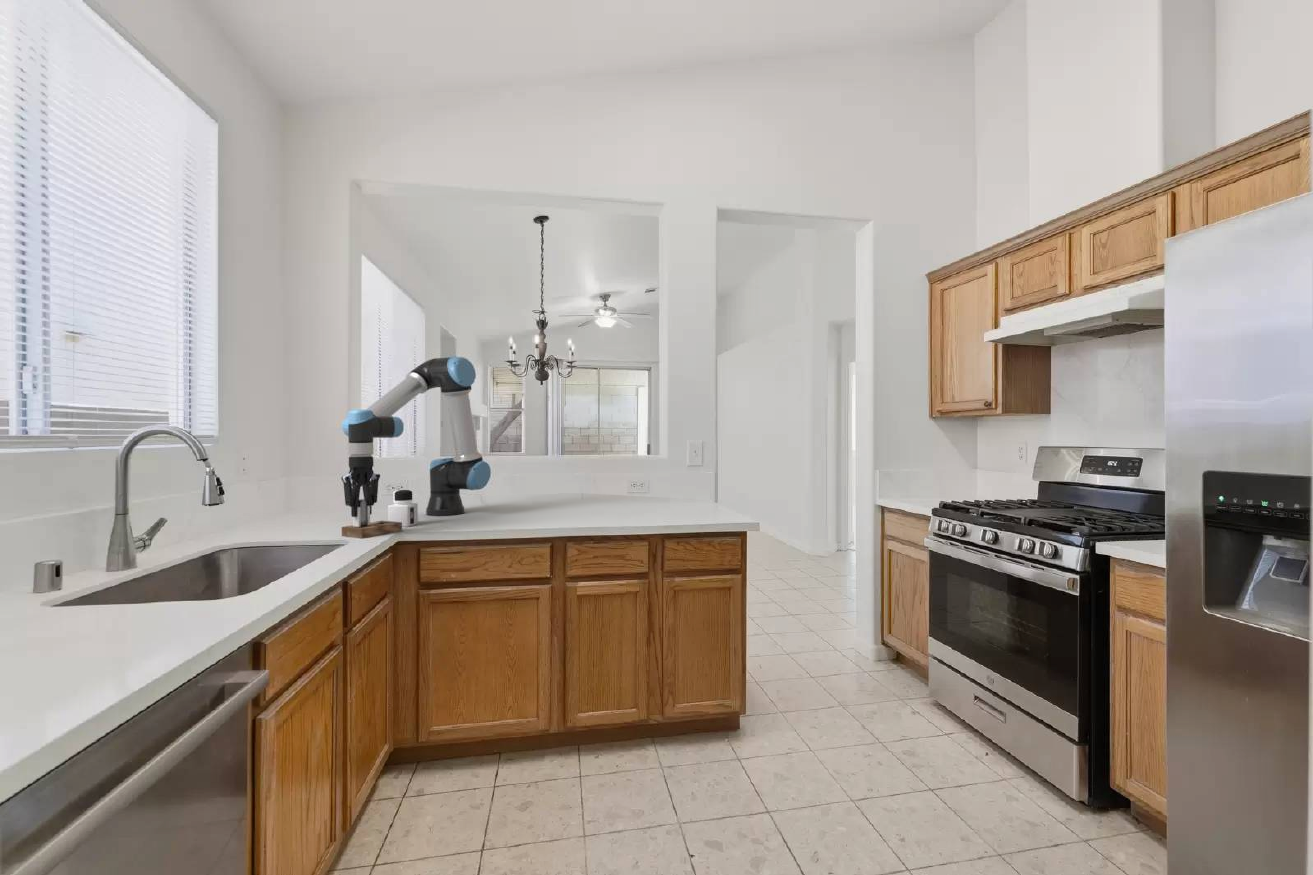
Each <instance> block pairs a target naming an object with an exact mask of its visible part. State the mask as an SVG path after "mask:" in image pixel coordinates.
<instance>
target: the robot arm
mask: <svg viewBox="0 0 1313 875" xmlns="http://www.w3.org/2000/svg"><path fill="white" fill-rule="evenodd" d="M476 376H477V375H476V369H475V367H474V364H473V363H472V362H471V361H470V360H469V359H467V358H466V357H464V356H463V357H462V356H451V357H435V358H432V359H428V360H426V361H424V362H423V363H421V364H419V365H418V366H416V367H415V368H413V369H412V370H411V371H410V372H408V373H407V374H406V376H405V378H404V379H403V380H402V381H401V382H399V384H396V386H394V387H393V388H392V389H390V390H389V391H388V392H387V393H385V394H384V395H383V396H381V397H379V398H378V400H376V401H375V402H374V403H372V404H371V405H369V406H368V407H367V408H365V409H351V410H350V411H349V412H348V417H347V418H345V419H344V420H343V421H342V422H343V423H342V427H341V428H342V429H341V430H342V431H343V433H344V434H345V436H347V437H348V455H349V457H348V468H349V471H348V474H346V475H342V476H341V478H340V479H341V481H342V483H343V484H342V485H343V492H344V493H343V494H344V504H345V506H348V507H350V508H351V510H350V512H351V514H350V515H351V517H352V525H353V526H355V527H361V513H360V507H358V503H359V499H360V494H361V487H362V494H363V499H366V503H367V525H370V522H371V515H372V511H373V510H372V509H373V508H372V506H373V507H374V505H375V504H376V503H377V502H378V496H379V495H378V493H379V481H380V478H381V474H379V473H375V472H374V470H373V467H374V457H373V455H374V439H375V438H377V439H381V438H383V439H384V438H387V439H388V438H389V439H394V438H399V437H400V436H401V435H402V434H403V433H404V428H405V427H404V424H405V423H404V422H403V420H402V419H401V418H400V417H398V416H393V415H394V414H395V413H397V412H399V410H400V409H402V408H403V407H404V406H406V405H407V404H408V403H410V402H411V401H413V399H414V398H415V397H417V396H418V395H419V394H425V393H426V392H428V391H429V390H431V389H434V388H435V389H436V388H440V392H441V394H442V395H443V396H445V398H446V403H447V410H448V416H449V422H450V427H451V428H450V429H451V434H452V441H453V446H454V452H455V453H454V454H455V455H454V457H446V458H438V459H433V460H431V461H430V464H429V490H430V491H429V492H430V496H429V499H428V503H427V507H426V508H425V514H426V515H427V516H439V517H441V516H454V515H460V514H465V506H464V505H463V500H462V498H461V494H460V493H461V492H460V490H470V491H477V490H482V489H483V488H484V487H486V486H487V485H488V483H489V481H490V479H491V472H492V471H491V466H490V464H488V462H486V461H485V460H484V459H483V454H482V453H481V452H479V451H478V446H477V441H476V440H477V439H476V435H475V434H476V433H475V427H474V422H473V415H472V408H471V401H470V396H469V395H470V394H469V393H470V392H471V391H472V385H473V384H474V383H475V382H476V381H475V380H476Z"/></svg>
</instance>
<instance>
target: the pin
mask: <svg viewBox="0 0 1313 875" xmlns="http://www.w3.org/2000/svg"><path fill="white" fill-rule="evenodd" d="M358 507H360V513H361V527H358V528H362V527H367V503H366V499H364V498H363V499H362V498H359V503H358Z"/></svg>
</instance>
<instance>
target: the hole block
mask: <svg viewBox="0 0 1313 875" xmlns="http://www.w3.org/2000/svg"><path fill="white" fill-rule="evenodd" d="M398 532H403V527H402V522H393V521H388V520H378V521H376V520H375V521H370V525H367V527H362V528H358V527H355V526H353V524H352V525H346V526H341V537H349V538H357V539H367V538H370V537H376V536H382V535H387V534H394V533H398Z"/></svg>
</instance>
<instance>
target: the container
mask: <svg viewBox="0 0 1313 875" xmlns="http://www.w3.org/2000/svg"><path fill="white" fill-rule="evenodd" d="M392 495H393V504H391V505H389V504H388V505H387V521H393V522H402V528H409V527H412V526H415V525H418V523H419V518H418V516H419V513H418V512H419V510H418V509H419V508H418V503H415V502H413V491H412V490H409V489H399V490H398V489H397V490H395V491H393V493H392Z"/></svg>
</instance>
